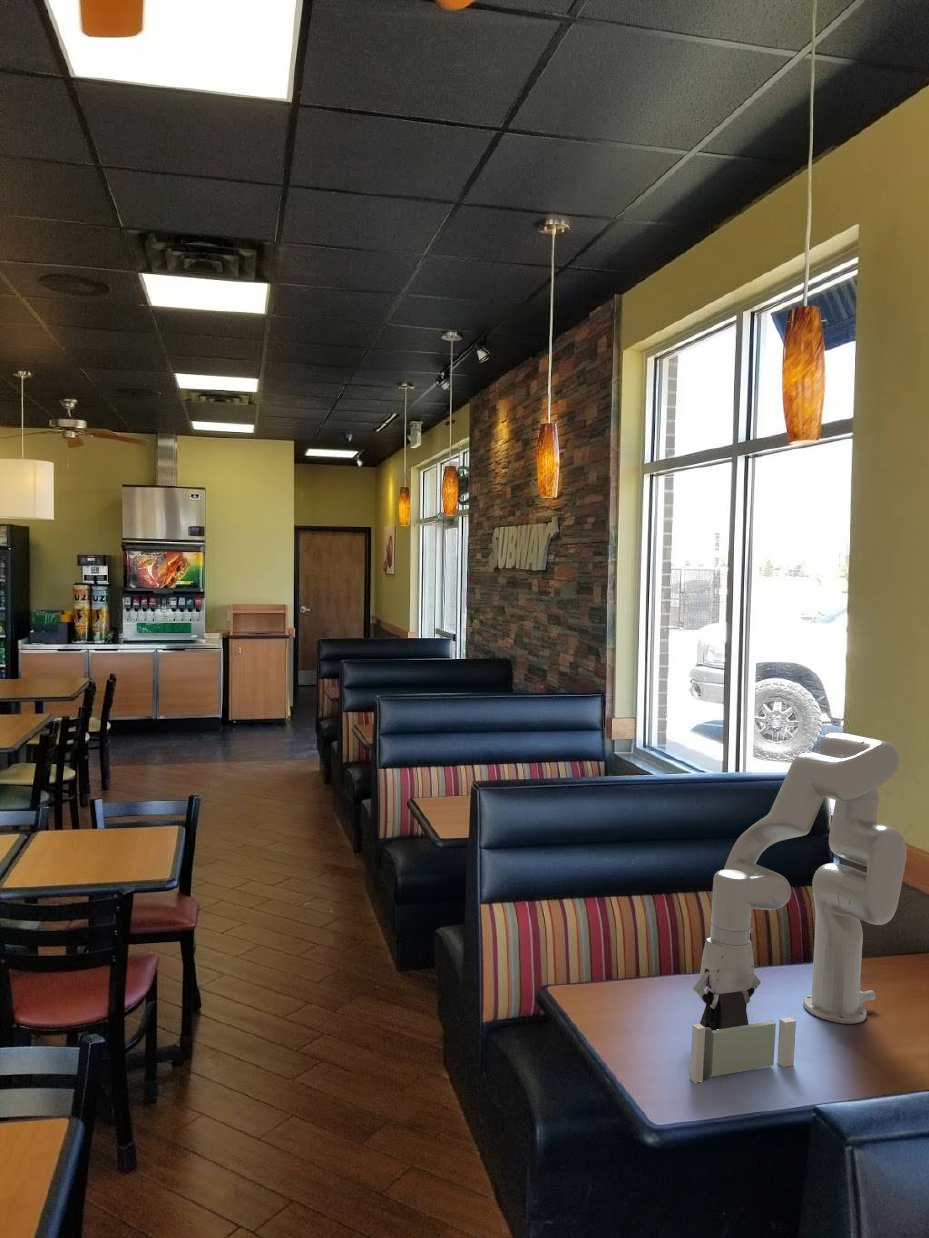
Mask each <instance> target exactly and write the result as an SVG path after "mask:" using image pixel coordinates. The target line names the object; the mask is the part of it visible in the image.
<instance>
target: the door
mask: <svg viewBox="0 0 929 1238" xmlns="http://www.w3.org/2000/svg"><path fill="white" fill-rule="evenodd" d="M776 1027H777V1023H776V1022H774V1021H773V1020H769V1021H763V1022H757V1023H752V1024H751V1023H750V1024H749V1025H744V1026H738V1027H732V1028H725V1029H719V1030H713V1031H712V1029H711V1028H709V1027H705V1043H704V1062H703V1080H705V1079H708V1080H710V1077H716V1076H722V1075H723V1076H724V1075H728V1074H735V1073H740V1072H745V1071H750V1070H755V1069H760V1068H766V1067H771V1066H774V1065H775V1063H774V1062H775V1044H776V1043H775V1042H776Z"/></svg>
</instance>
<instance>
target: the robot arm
mask: <svg viewBox="0 0 929 1238" xmlns="http://www.w3.org/2000/svg"><path fill="white" fill-rule="evenodd" d="M900 762H901V760H900V754H899V752H898V750H897V748H896V747H895V746H894V745H893V744H892V743H889V742H888V741H885V740H882V739H881V740H880V739H878V738H872V737H866V736H861V735H856V734H852V733H846V732H830V733H827V734H825V735H824V736H823V737H822V738H821V740H820V743H819V753H815V752H803V753H800V754H798V755H797V756H796V757H795V758H794V759H793V760H792V762H791V764H790V766H789V768H788V770H787V773H786V775H785V777H784V780H783V781H782V784H781V786H780V789H779V791H778V793H777V795H776V797H775V800H774V802H773V804H772V806H771V809H770V810H769V812H768V813H767V814H766V815H765V816H764V817H763V818H760V819H759V820H758V821H756V822H755V823H754V824H751V826H750V827H749V828H747V829H746V830H745V831H744V832H742V833H741V835H740V836H739V837H738V838H737V839H736V841H735V842H734V845H733V846H732V847H731V851H730V853H729V855H728V857H727V860H726V862H725V865H724V867H723V869H720V870H718V871H716V873H715V872H714V875H713V880H712V881H713V882H712V895H711V896H712V897H711V898H712V900H711V918H710V936H709V937H708V938H706V941H705V943H704V947H703V951H702V956H701V962H700V963H701V964H700V972H699V980H698V982H697V983H696V984H695V985H694V986H693V991H694V992H695V993H696V994H697V995H698V997H699V998H700V999H701V1001H703V1003H705V1007H706V1012H705V1020H706V1022H707V1023H708V1024H709V1025H711V1026H712V1027H713V1028H717V1027H718V1015H719V1009H718V1008H717V1007H716V1006H717V1003H718V1000H719V994H725V993H732V992H739V991H742V993H743V994H744V1000H745V1006H746V1009H747V1005H748V1004H749V1003H750V1002H751V998H752V996H753V995H754V993H755V990H757V988H758V987H759V986H760V984H761V981H760V980H761V979H759V977H758V976H757V975H756V974H755V971H754V970H755V965H754V964H755V963H754V962H755V961H754V951H753V944H752V941H751V940H750V938H751V937H750V936H751V933H754V927H753V926H752V925H751V917H752V910H763V911H764V910H765V911H773V910H779V909H781V908H783V907H784V906H786V905H787V904H788V903H789V901H790V899H791V896H792V888H791V885H790V882H789V880H788V879H787V878H786V877H785V876H784V875H782V874H780V873H778V872H775V871H774V870H771V869H769V868H766V867H764V866H761V865H760V864H757V862H758V860H759V858H760V856H761V855H762V853H763V852H764V851H766V850H767V848H769V847H770V846H773V845H774V844H776V843H778V842H781V841H786V840H789V839H794V838H799V837H803V836H806V835H808V834H809V833H810V832H811V829H812V827H813V825H814V822H815V820H816V818H817V816H818V813H819V811H820V809H821V806H822V804H823V802H824V800H825V798H826V799H827V798H828V799H831V800H835V802H834V807H833V813H832V818H831V822H830V829H829V836H828V846H829V849H830V850H831V852H832V853H833V854H834V855H836V856H838V857H840V858H842V859H844V860H847V861H850V862H853V863H856V864H858V865H861V866H864V867H866V872H865V871H862V870H859V869H857V868H854V867H852V866H848V865H846V864H842V863H836V862H830V863H825V864H823V865H821V866H819V867H818V869H816V870H815V873H814V874H813V878H812V882H811V884H812V894H813V900H814V901H813V903H814V913H815V923H814V924H815V925H814V927H815V930H814V945H813V964H812V966H813V967H812V981H811V993H809V994H807V995H806V996H804V998H803V1007H804V1008H805V1009H806V1011H808V1013H810V1014H812V1015H813V1016H815V1017H818V1018H820V1019H823V1020H825V1021H828V1022H833V1023H838V1024H849V1025H852V1024H858V1023H862V1022H864V1021H865V1020H866V1018H867V1010H866V1008H865V1007H864V1006H863V1003H865V1002H866V1001H873V1000H876V998H877V996H876V995H877V994H876V993H875V991H874V990H871V989H870V990H864V991H862V989H861V974H862V958H863V957H862V956H863V955H862V954H863V941H864V940H863V939H864V938H863V937H864V933H863V927H862V923H861V921H864V922H865V923H868V924H872V925H876V926H882V925H885V924H888V923H889V922H890V921H891V920H892V919H893V917H894V916H895V913H896V911H897V908H898V905H899V902H900V895H901V889H902V885H903V881H904V880H903V879H904V873H905V867H906V862H907V855H908V854H907V852H908V851H907V845H906V840H905V838H904V836H903V834H902V833H901V831H899V830H898V829H896V828H895V827H892V826H890V825H887V824H884V823H880V822H878V821H877V818H878V810H879V802H880V801H879V800H880V797H879V796H880V795H879V789H878V787H880V786H882V785H884V784H885V783H887V782H888V781H890V780H891V779H892V778H893V777H894V776H895V775H896V773H897V771H898V770H899V767H900ZM706 987H707V988H706ZM705 989H706V990H705ZM712 993H713V994H714V995H713V997H712V999H711V996H712Z"/></svg>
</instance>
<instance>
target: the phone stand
mask: <svg viewBox="0 0 929 1238" xmlns="http://www.w3.org/2000/svg"><path fill="white" fill-rule="evenodd" d="M713 995H714V994H713V993H712V996H711V999H712V997H713ZM716 1007H717V1008H718V1009H719V1015H718V1027H717V1028H713V1027H712V1026H711V1025H709V1024H708V1023H707V1022H706V1020H705V1012H706V1006H705V1007H704V1010H703V1012H702V1016H701V1019H700V1022H699V1024H701V1025H702V1026H704V1027H709V1028H711V1029H712V1031H713V1030H717V1029H725V1028H732V1027H738V1026H744V1025H750V1024H749V1019H748V1018H749V1017H748V1012H747V1008H746V1006H745V1000H744V994H743V993H742V991H739V992H732V993H725V994H719V1000H718V1003H717V1006H716Z"/></svg>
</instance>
